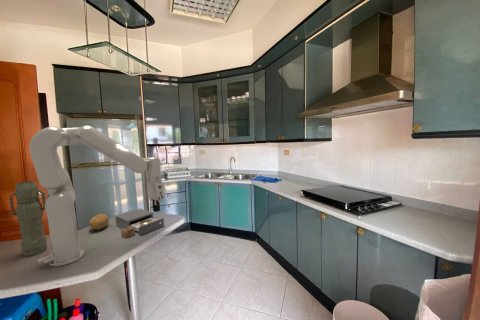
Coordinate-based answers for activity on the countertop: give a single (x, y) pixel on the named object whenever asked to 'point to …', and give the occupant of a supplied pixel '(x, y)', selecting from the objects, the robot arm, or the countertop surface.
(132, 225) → the tray
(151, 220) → the disc
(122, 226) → the box
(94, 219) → the potato
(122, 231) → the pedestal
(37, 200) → the thermos
